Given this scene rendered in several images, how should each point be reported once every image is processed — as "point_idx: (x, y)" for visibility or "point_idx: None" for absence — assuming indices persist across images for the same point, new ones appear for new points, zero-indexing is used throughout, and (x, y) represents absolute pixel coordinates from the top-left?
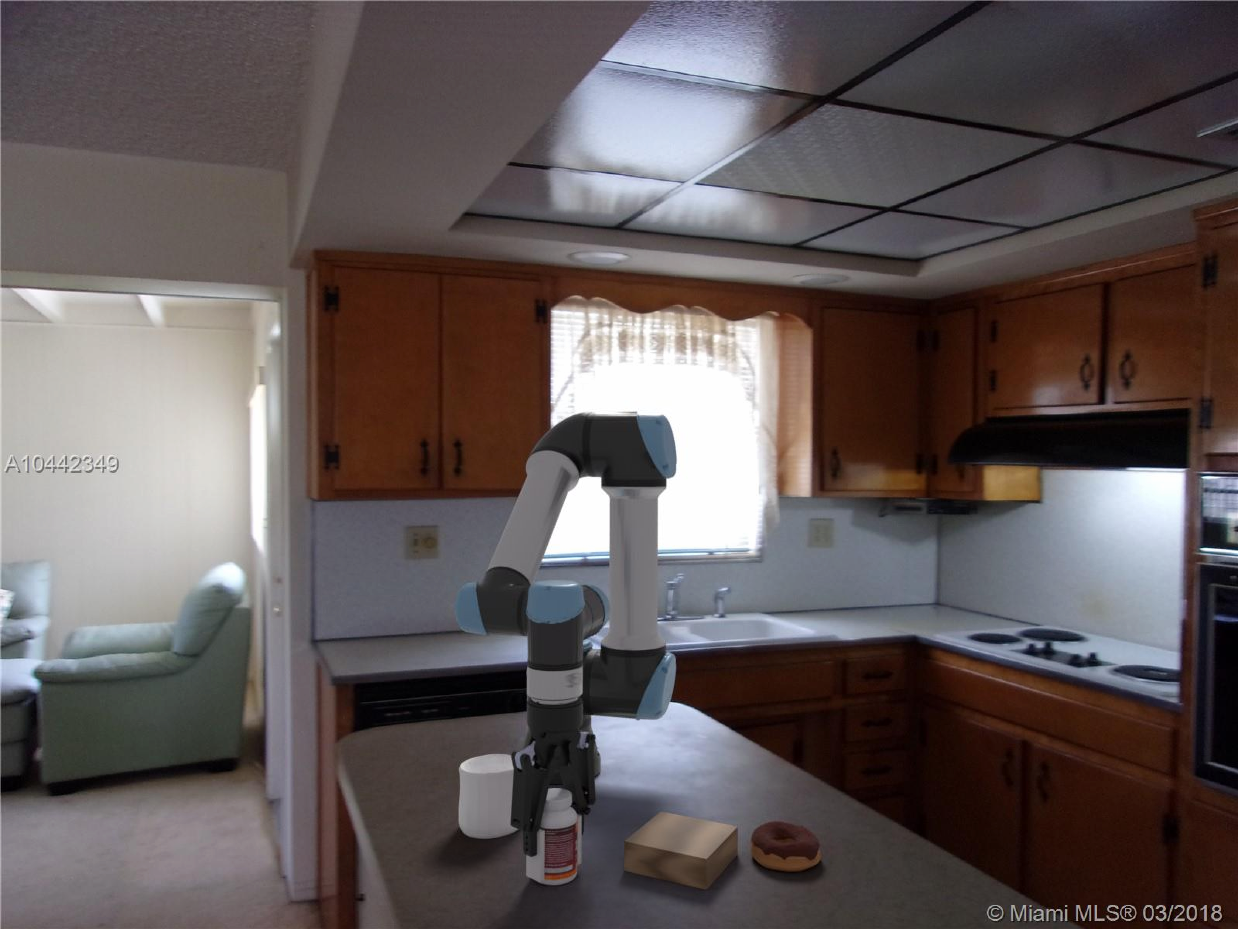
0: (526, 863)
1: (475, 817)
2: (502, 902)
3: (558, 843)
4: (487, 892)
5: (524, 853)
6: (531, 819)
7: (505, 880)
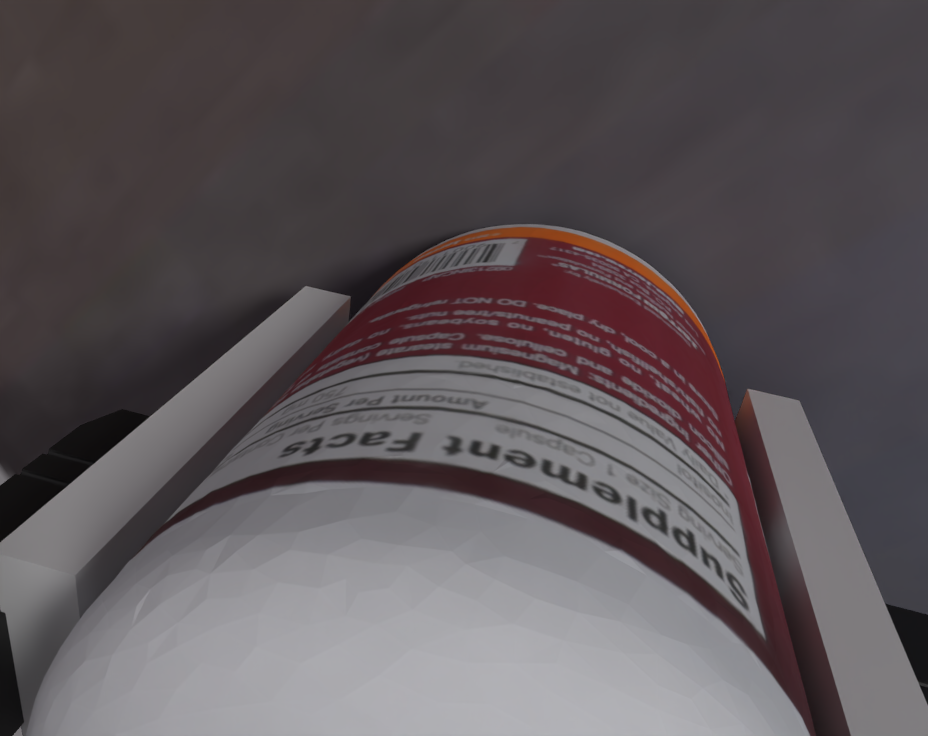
0: (256, 330)
1: None
2: (42, 288)
3: None
4: (45, 100)
5: (111, 420)
6: (139, 560)
7: (261, 88)
